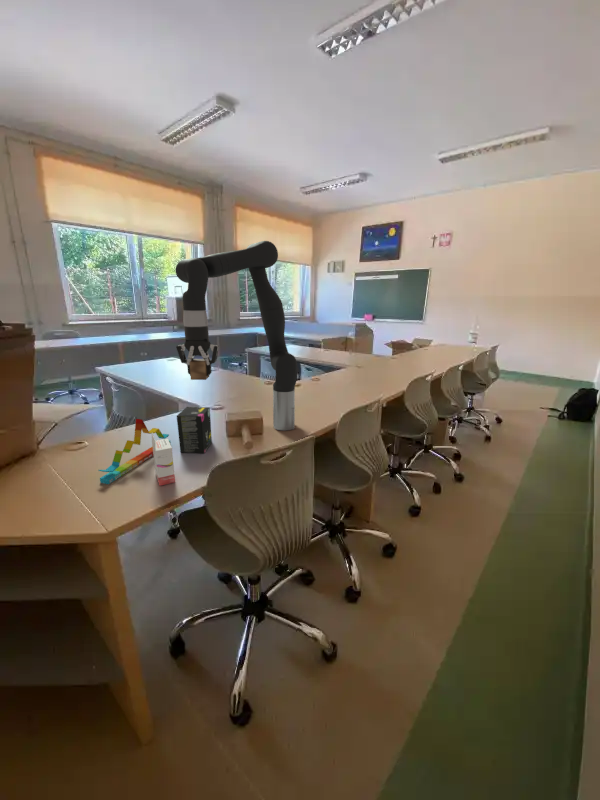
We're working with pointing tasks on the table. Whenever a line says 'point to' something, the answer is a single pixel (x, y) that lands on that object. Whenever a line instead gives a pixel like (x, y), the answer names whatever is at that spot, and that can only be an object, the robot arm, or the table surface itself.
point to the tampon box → (194, 429)
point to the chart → (117, 470)
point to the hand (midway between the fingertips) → (200, 375)
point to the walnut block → (198, 369)
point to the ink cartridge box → (163, 461)
